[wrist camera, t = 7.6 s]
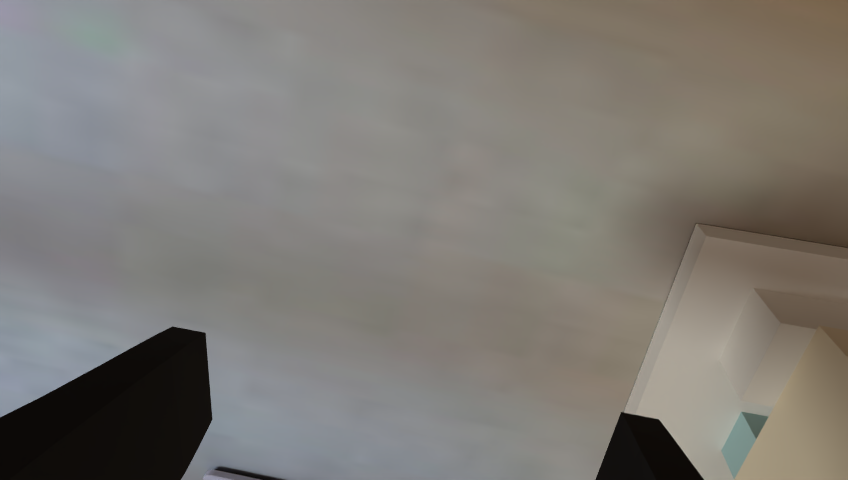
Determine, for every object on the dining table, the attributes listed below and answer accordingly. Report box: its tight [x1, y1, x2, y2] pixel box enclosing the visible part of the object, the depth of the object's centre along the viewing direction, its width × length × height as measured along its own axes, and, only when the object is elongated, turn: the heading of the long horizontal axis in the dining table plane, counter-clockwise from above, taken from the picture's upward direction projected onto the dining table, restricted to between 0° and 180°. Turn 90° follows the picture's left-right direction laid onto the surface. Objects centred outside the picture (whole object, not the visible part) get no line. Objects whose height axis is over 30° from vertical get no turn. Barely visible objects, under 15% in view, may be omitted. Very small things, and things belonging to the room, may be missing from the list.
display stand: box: [624, 223, 848, 480], centre depth 19 cm, size 15×10×3 cm, turn 173°
